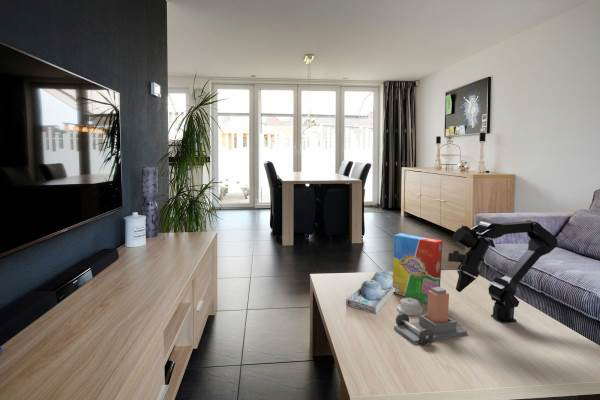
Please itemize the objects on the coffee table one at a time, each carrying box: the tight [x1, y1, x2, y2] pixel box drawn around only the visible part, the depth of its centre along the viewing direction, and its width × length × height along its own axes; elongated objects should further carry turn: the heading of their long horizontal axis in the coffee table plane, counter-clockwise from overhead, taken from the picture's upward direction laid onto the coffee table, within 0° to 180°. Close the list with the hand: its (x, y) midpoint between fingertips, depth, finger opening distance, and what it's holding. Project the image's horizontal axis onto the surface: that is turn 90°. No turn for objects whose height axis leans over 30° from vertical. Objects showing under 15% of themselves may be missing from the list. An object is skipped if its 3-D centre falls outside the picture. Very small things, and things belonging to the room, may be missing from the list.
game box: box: [392, 232, 444, 305], centre depth 171 cm, size 21×6×27 cm, turn 42°
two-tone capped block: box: [426, 286, 450, 324], centre depth 139 cm, size 5×5×14 cm
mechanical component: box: [396, 297, 423, 316], centre depth 158 cm, size 10×4×10 cm
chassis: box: [393, 312, 468, 345], centre depth 138 cm, size 22×15×5 cm
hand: (457, 290), depth 144 cm, fingers open, 9 cm apart
